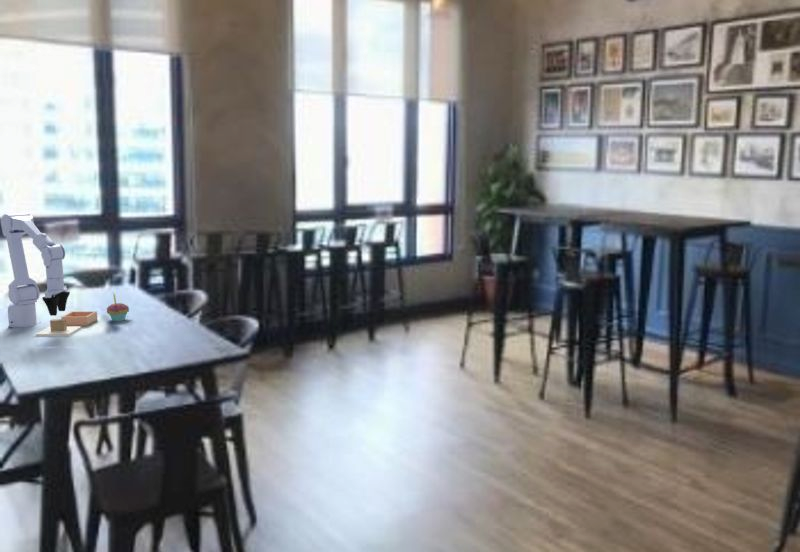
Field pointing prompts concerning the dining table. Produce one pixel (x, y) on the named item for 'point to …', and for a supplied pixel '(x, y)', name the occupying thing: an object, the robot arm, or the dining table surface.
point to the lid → (58, 329)
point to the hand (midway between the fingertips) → (57, 313)
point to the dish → (80, 318)
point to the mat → (59, 336)
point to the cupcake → (117, 311)
